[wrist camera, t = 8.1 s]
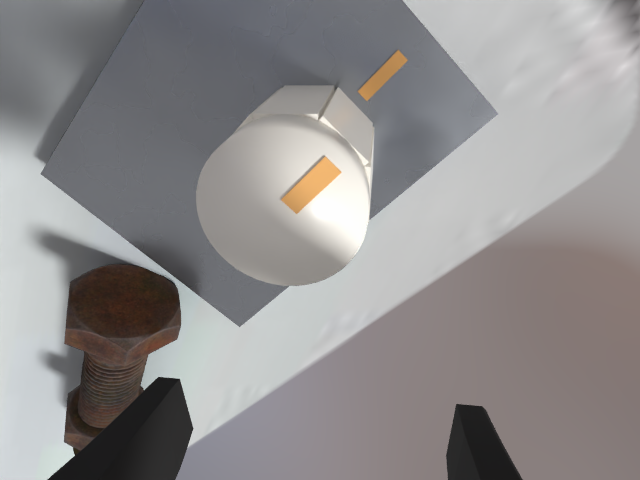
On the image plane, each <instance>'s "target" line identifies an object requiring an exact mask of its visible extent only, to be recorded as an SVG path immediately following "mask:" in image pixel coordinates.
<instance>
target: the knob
mask: <svg viewBox="0 0 640 480" xmlns="http://www.w3.org/2000/svg"><path fill="white" fill-rule="evenodd" d="M373 150H374V127H373V123H372V122H371V121H370V120H369V119H368V117H367V116H366V115H365V114H364V113H363V112H362V111H361V110H360V109H359V108H358V107H357V106H356V105H355V104H354V103H353V102H352V101H351V100H350V99H349V98H348V97H347V96H346V95H345V93H344V92H343V91H342V90H341V89H340V88H339V87H338V88H337V89H336V90H335V91H334V85H285V86H284V87H283V88H282V87H281V88H280V89H279V90H277V91H276V92H275V93H274V94H273V95H272V96H271V97H269V98H268V99H267V100H266V101H265V102H264V103H262V104H261V105H260V106H259V107H258V108H257V109H256V110H254V111H253V112H252V113H251V114H250V115H249V116H248V117H247V118H246V119H245V120H244V121H243V123H242V124H241V125H240V126H239V127H238V129H237V130H236V131H235V132H234V133H233V134H232V135H231V136H230V137H229V138H228V139H227V140H226V141H225V142H224V143H223V144H221V145H220V146H219V147H218V148H217V149H216V150H215V151H214V152H213V153H212V154H211V156H210V157H209V159H208V160H207V161H206V163H205V165H204V167H203V169H202V171H201V173H200V176H199V179H198V184H197V190H196V206H197V213H198V217H199V221H200V223H201V226H202V229H203V231H204V233H205V235H206V237H207V238H208V240H209V242H210V243H211V244H212V246H213V247H214V249H215V250H216V251H217V252H218V253H219V254H220V255H221V257H223V258H224V259H225V260H226V261H227V262H228V263H229V264H231V265H232V266H233V267H235V268H236V269H237V270H239V271H241V272H243V273H244V274H246V275H248V276H250V277H252V278H255V279H257V280H260V281H263V282H266V283H271V284H275V285H284V286H299V285H307V284H312V283H316V282H319V281H322V280H324V279H327V278H329V277H331V276H333V275H334V274H336V273H337V272H339V271H340V270H342V269H343V268H344V267H345V266H346V265H347V264H348V263H349V262H350V261H351V260H352V259H353V258H354V256H355V255H356V253H357V252H358V250H359V249H360V247H361V245H362V242H363V240H364V237H365V233H366V229H367V223H369V214H370V201H371V188H372V175H373Z"/></svg>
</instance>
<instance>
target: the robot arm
mask: <svg viewBox="0 0 640 480" xmlns="http://www.w3.org/2000/svg"><path fill="white" fill-rule="evenodd" d="M192 431H193V426H192V422H191V419H190V415H189V411H188V408H187V404H186V400H185V396H184V393H183V389H182V385H181V382H180V379H175V378H164V377H158V378H157V379H156V380H155V381H154V382H153V383H151V384H150V385H149V386H148V387H147V388H146V389H145V390H144V391H143V392H142V393H141V394H140V395H139V396H138V397H137V398H136V399H135V400H134V401H133V402H132V403H131V404H130V405H129V406H128V407H127V408H126V409H125V410H124V411H122V412H121V413H120V414H119V415H118V416H117V417H116V418H115V419H114V420H113V421H112V422H111V423H110V424H109V425H108V426H107V427H106V428H105V429H104V430H102V431H101V432H100V433H99V434H98V435H97V436H96V437H95V438H94V439H93V440H92V441H91V442H90V443H88V444H87V445H86V446H85V447H84V448H83V449H82V450H81V451H80V452H79V453H77V454H76V455H75V456H74V457H73V458H72V459H71V460H69V461H68V462H67V463H66V464H65V465H64V466H63V467H61V468H60V469H59V470H58V471H57V472H56V473H54V474H53V475H52V476H51V477H50V478H49V479H48V480H175V479H176V476H177V474H178V472H179V470H180V467H181V464H182V461H183V459H184V456H185V453H186V450H187V447H188V443H189V440H190V437H191V434H192ZM446 457H447V471H448V480H522V478H521V476H520V474H519V473H518V471H517V469H516V467H515V466H514V464H513V462H512V460H511V458H510V456H509V455H508V453H507V451H506V449H505V447H504V446H503V444H502V442H501V440H500V438H499V436H498V434H497V432H496V430H495V428H494V426H493V424H492V422H491V420H490V418H489V416H488V414H487V412H486V410H485V409H484V408H483V407H482V406H472V405H461V404H456V408H455V414H454V419H453V424H452V429H451V434H450V439H449V444H448V449H447V455H446Z"/></svg>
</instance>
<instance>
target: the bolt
mask: <svg viewBox="0 0 640 480" xmlns="http://www.w3.org/2000/svg"><path fill="white" fill-rule="evenodd" d="M180 327H181V310H180V300H179V293H178V289H177V287H176V286H175V285H174V284H173V283H171V282H170V281H169V280H168V279H166V278H165V277H163V276H161V275H159V274H156V273H154V272H151V271H149V270H147V269H145V268H142V267H139V266H134V265H124V264H113V265H107V266H103V267H99V268H96V269H93V270H91V271H89V272H87V273H85V274H83V275H81V276H80V277H78V278H76V279H74V280H73V281H71V282H70V288H69V298H68V308H67V318H66V331H65V343H64V344H67V345H69V346H72V347H75V348H77V349H80V350H83V351H85V352H84V361H83V367H82V375H81V384H80V386H78V387H77V388H75V389H74V390H73V391H71V392H70V393H68V400H67V411H66V422H65V435H64V442H65V443H67V444H68V445H70V446H72V447H73V451H74V454H75V455H76V454H77V453H79V452H80V451H81V450H82V449H83V448H84V447H85V446H86V445H87V444H88V443H90V442H91V441H92V440H93V439H94V438H95V437H96V436H97V435H98V434H99V433H100V432H101V431H102V430H104V429H105V428H106V427H107V426H108V425H109V424H110V423H111V422H112V421H113V420H114V419H115V418H116V417H117V416H118V415H119V414H120V413H121V412H122V411H124V410H125V409H126V408H127V407H128V406H129V405H130V404H131V403H132V402H133V401H134V400H135V399H136V398H137V397H138V396H139V395H140V394H141V393H142V392H143V391H144V390H143V388H142V387H141V386H140V385H141V381H142V377H143V373H144V369H145V365H146V361H147V357H148V354H150V353H152V352H154V351H156V350H158V349H159V348H161V347H163V346H165V345H167V344H169V343H171V342H173V341H175V340H177V338H178V334H179V331H180Z"/></svg>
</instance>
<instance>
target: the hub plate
mask: <svg viewBox="0 0 640 480" xmlns="http://www.w3.org/2000/svg"><path fill="white" fill-rule="evenodd" d="M285 85H334V91H335V90H336V89H337V88H338V87H339V88H340V89H341V90H342V91H343V92H344V93H345V95H346V96H347V97H348V98H349V99H350V100H351V101H352V102H353V103H354V104H355V105H356V106H357V107H358V108H359V109H360V110H361V111H362V112H363V113H364V114H365V115H366V116H367V117H368V119H369V120H370V121H371V122H372V123H373V127H374V150H373V175H372V188H371V201H370V214H369V220H370V219H371V218H372V217H374V216H375V215H376V214H377V213H379V212H380V211H381V210H382V209H383V208H385V207H386V206H387V205H388V204H389V203H391V202H392V201H393V200H394V199H395V198H397V197H398V196H399V195H400V194H402V193H403V192H404V191H405V190H406V189H408V188H409V187H410V186H411V185H412V184H414V183H415V182H416V181H417V180H419V179H420V178H421V177H422V176H423V175H425V174H426V173H427V172H428V171H429V170H431V169H432V168H433V167H434V166H436V165H437V164H438V163H439V162H440V161H442V160H443V159H444V158H445V157H446V156H448V155H449V154H450V153H451V152H453V151H454V150H455V149H456V148H457V147H459V146H460V145H461V144H462V143H463V142H465V141H466V140H467V139H468V138H470V137H471V136H472V135H473V134H474V133H476V132H477V131H478V130H479V129H480V128H482V127H483V126H484V125H485V124H486V123H488V122H489V121H490V120H491V119H493V118H494V117H495V116H496V115H497V114H498V113H497V112H496V111H495V109H494V108H493V107H492V106H491V105H490V103H489V102H488V101H487V100H486V99H485V98H484V96H483V95H482V94H481V93H480V92H479V90H478V89H477V88H476V87H475V86H474V85H473V83H472V82H471V81H470V80H469V79H468V77H467V76H466V75H465V74H464V73H463V72H462V70H461V69H460V68H459V67H458V66H457V64H456V63H455V62H454V61H453V60H452V59H451V57H450V56H449V55H448V54H447V53H446V51H445V50H444V49H443V48H442V47H441V46H440V44H439V43H438V42H437V41H436V40H435V38H434V37H433V36H432V35H431V34H430V33H429V31H428V30H427V29H426V28H425V27H424V25H423V24H422V23H421V22H420V21H419V20H418V18H417V17H416V16H415V15H414V14H413V12H412V11H411V10H410V9H409V8H408V7H407V5H406V4H405V3H404V2H403V1H402V0H144V2H143V3H142V5H141V7H140V8H139V10H138V12H137V13H136V15H135V17H134V18H133V20H132V22H131V23H130V25H129V27H128V28H127V30H126V32H125V33H124V35H123V37H122V38H121V40H120V42H119V43H118V45H117V47H116V48H115V50H114V52H113V53H112V55H111V57H110V58H109V60H108V62H107V63H106V65H105V67H104V68H103V70H102V72H101V74H100V75H99V77H98V79H97V80H96V82H95V84H94V85H93V87H92V89H91V90H90V92H89V94H88V95H87V97H86V99H85V100H84V102H83V104H82V105H81V107H80V109H79V110H78V112H77V114H76V115H75V117H74V119H73V120H72V122H71V124H70V125H69V127H68V129H67V130H66V132H65V134H64V135H63V137H62V139H61V140H60V142H59V144H58V145H57V147H56V149H55V150H54V152H53V154H52V156H51V157H50V159H49V161H48V162H47V164H46V166H45V167H44V169H43V171H42V172H41V175H43V176H44V177H45V178H47V179H48V180H49V181H51V182H52V183H53V184H54V185H56V186H57V187H58V188H60V189H61V190H62V191H64V192H65V193H66V194H67V195H69V196H70V197H71V198H73V199H74V200H75V201H77V202H78V203H79V204H80V205H82V206H83V207H84V208H86V209H87V210H88V211H90V212H91V213H92V214H93V215H95V216H96V217H97V218H99V219H100V220H101V221H103V222H104V223H105V224H106V225H108V226H109V227H110V228H112V229H113V230H114V231H116V232H117V233H118V234H119V235H121V236H122V237H123V238H125V239H126V240H127V241H129V242H130V243H131V244H132V245H134V246H135V247H136V248H138V249H139V250H140V251H142V252H143V253H144V254H145V255H147V256H148V257H149V258H151V259H152V260H153V261H155V262H156V263H157V264H158V265H160V266H161V267H162V268H164V269H165V270H166V271H168V272H169V273H170V274H171V275H173V276H174V277H175V278H177V279H178V280H179V281H181V282H182V283H183V284H184V285H186V286H187V287H188V288H190V289H191V290H192V291H194V292H195V293H196V294H197V295H199V296H200V297H201V298H203V299H204V300H205V301H207V302H208V303H209V304H210V305H212V306H213V307H214V308H216V309H217V310H218V311H220V312H221V313H222V314H223V315H225V316H226V317H227V318H229V319H230V320H231V321H233V322H234V323H235V324H236V325H238V326H239V327H240V326H241V325H243V324H244V323H245V322H246V321H247V320H249V319H250V318H251V317H252V316H254V315H255V314H256V313H257V312H258V311H260V310H261V309H262V308H263V307H264V306H266V305H267V304H268V303H269V302H271V301H272V300H273V299H274V298H275V297H277V296H278V295H279V294H280V293H281V292H283V291H284V290H285V289H286V288H288V287H289V286H284V285H275V284H271V283H266V282H263V281H260V280H257V279H255V278H252V277H250V276H248V275H246V274H244V273H243V272H241V271H239V270H237V269H236V268H235V267H233V266H232V265H231V264H229V263H228V262H227V261H226V260H225V259H224V258H223V257H221V255H220V254H219V253H218V252H217V251H216V250H215V249H214V247H213V246H212V244H211V243H210V242H209V240H208V238H207V237H206V235H205V233H204V231H203V229H202V226H201V223H200V221H199V217H198V213H197V206H196V190H197V184H198V179H199V176H200V173H201V171H202V169H203V167H204V165H205V163H206V161H207V160H208V159H209V157H210V156H211V154H212V153H213V152H214V151H215V150H216V149H217V148H218V147H219V146H220V145H221V144H223V143H224V142H225V141H226V140H227V139H228V138H229V137H230V136H231V135H232V134H233V133H234V132H235V131H236V130H237V129H238V127H239V126H240V125H241V124H242V123H243V121H244V120H245V119H246V118H247V117H248V116H249V115H250V114H251V113H252V112H253V111H254V110H256V109H257V108H258V107H259V106H260V105H261V104H262V103H264V102H265V101H266V100H267V99H268V98H269V97H271V96H272V95H273V94H274V93H275V92H276V91H277V90H279V89H280V88H281V87H282V88H283V87H284V86H285Z"/></svg>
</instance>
